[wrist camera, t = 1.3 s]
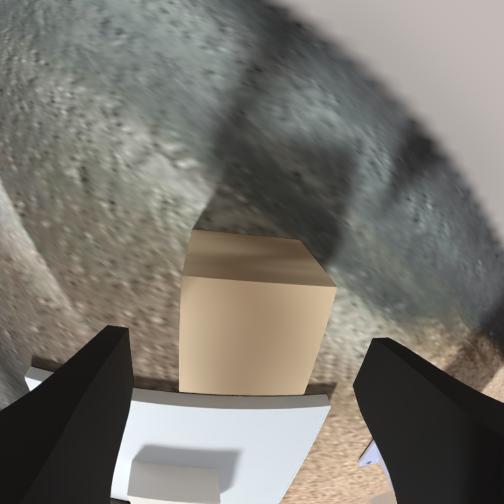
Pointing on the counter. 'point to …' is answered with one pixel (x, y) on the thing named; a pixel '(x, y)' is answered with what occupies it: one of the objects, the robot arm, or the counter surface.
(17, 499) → the robot arm
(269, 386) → the maple block
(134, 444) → the white flat panel
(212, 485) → the base block
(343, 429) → the counter surface
